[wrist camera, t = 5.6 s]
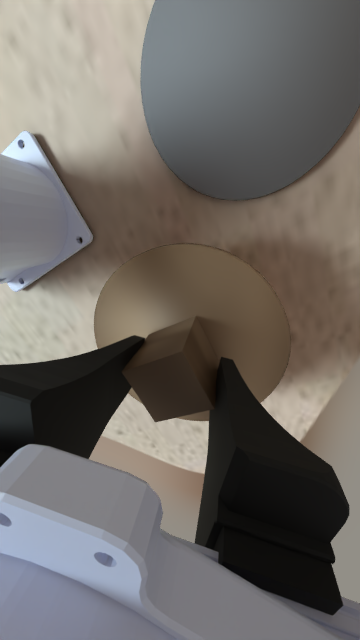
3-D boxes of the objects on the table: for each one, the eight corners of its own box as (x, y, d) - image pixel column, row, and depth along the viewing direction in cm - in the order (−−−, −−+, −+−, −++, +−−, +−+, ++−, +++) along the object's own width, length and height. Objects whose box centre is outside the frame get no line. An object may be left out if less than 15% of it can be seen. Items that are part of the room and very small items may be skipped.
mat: (199, 235, 16) (198, 236, 15) (105, 40, 13) (101, 35, 13) (406, 117, 12) (411, 114, 11) (331, -201, 9) (336, -220, 9)
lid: (155, 424, 17) (132, 484, 13) (68, 295, 14) (5, 324, 10) (314, 390, 13) (346, 462, 9) (240, 198, 10) (243, 187, 6)
